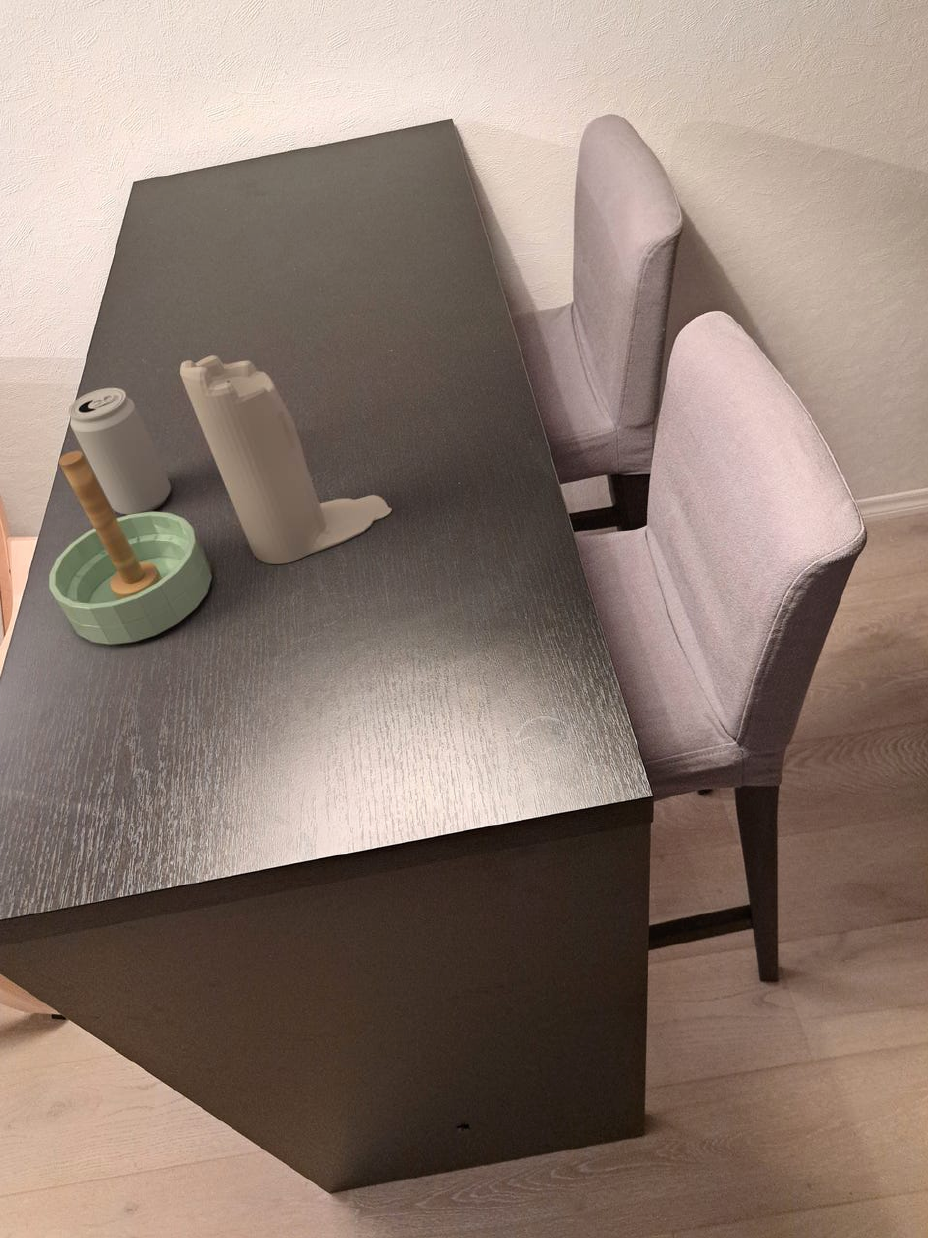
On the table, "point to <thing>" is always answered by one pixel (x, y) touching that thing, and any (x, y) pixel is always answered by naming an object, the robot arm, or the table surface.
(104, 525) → the pestle
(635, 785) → the table surface
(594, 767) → the table surface
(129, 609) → the bowl
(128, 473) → the beverage can
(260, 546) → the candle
